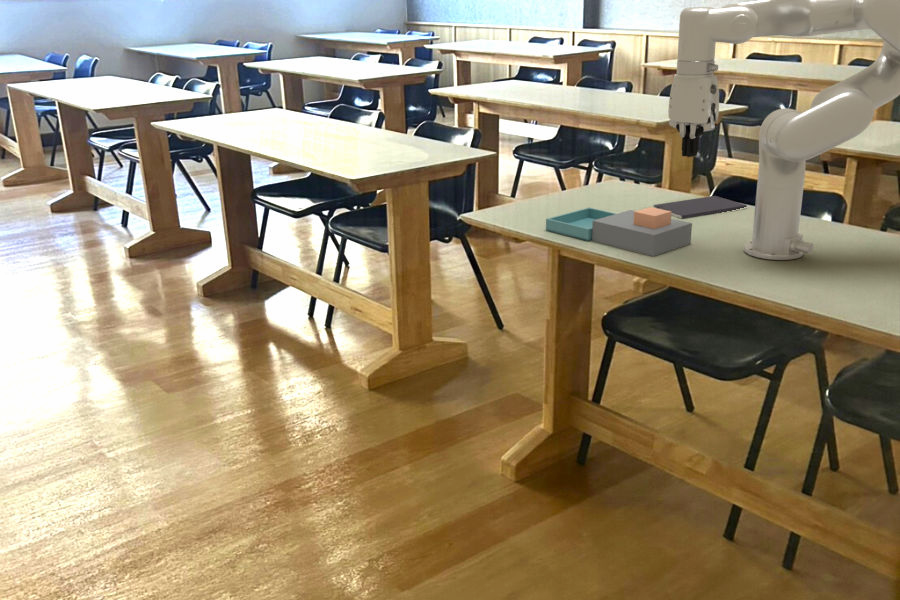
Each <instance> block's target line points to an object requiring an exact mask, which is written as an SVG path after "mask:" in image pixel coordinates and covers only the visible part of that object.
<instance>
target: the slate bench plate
mask: <svg viewBox="0 0 900 600" xmlns="http://www.w3.org/2000/svg"><path fill="white" fill-rule="evenodd" d="M635 211H636V210H632V209H629V210H626V211H623V212H622V211H621V212H619V213H616V214H614V215H611V216H607V217H604V218H600V219H597V220H593V223H592V241H591V242H595V243H598V244H603V245H606V246H611V247H613V248H618V249H622V250H626V251H631V252H634V253H638V254H642V255H645V256H648V257H649V256H650V257H656V256H658V255H662V254H665V253H667V252H668V253H669V252H671V251H673V250H677V249H680V248H682V247H686V246H689V245H691V243H692V228H693V223H692V222H688V221H684V220H679V219H675V218H671V224H669V225H666V226H663V227H660V228H656V229H652V228H648V227H643V226H639V225H634V212H635Z"/></svg>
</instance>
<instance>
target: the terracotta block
mask: <svg viewBox="0 0 900 600" xmlns="http://www.w3.org/2000/svg"><path fill="white" fill-rule="evenodd" d="M634 211H635V212H634V225H639V226H643V227H648V228H652V229H656V228H660V227H663V226H666V225H669V224H671V219H672V215H671V211H667V210H662V209H657V208H654V207H652V206H649V207H646V208H643V209H639V210H634Z"/></svg>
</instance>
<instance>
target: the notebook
mask: <svg viewBox="0 0 900 600" xmlns="http://www.w3.org/2000/svg"><path fill="white" fill-rule="evenodd" d="M744 207H747V204H744V203H741V202H737V201H734V200H731V199H727V198H725V197H724V198H723V197H720V196H717V195H712V196H711V195H710V196H704V197H696V198H690V199H685V200H678V201H677V200H676V201H671V202H665V203H664V202H663V203H658V204H653V208H657V209H662V210H667V211H671V217H675V218H677V219H678V218H679V219H681V220H685V219H692V218H697V217H698V218H699V217H705V216H711V215H716V214H717V213H718V214H722V212H724V213H728V212H727V211H730V212H733V211H732V210H736V209H740V208H744ZM736 211H737V210H736Z"/></svg>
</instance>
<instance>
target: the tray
mask: <svg viewBox="0 0 900 600" xmlns="http://www.w3.org/2000/svg"><path fill="white" fill-rule="evenodd" d="M614 214H617V213H616V212H611V211H606V210H604V209H597V208H593V207H586V208H583V209H578V210H573V211H571V212H566V213H563V214H559V215H556V216H552V217H549V218H545V231H546V232H551V233H553V234H558V235H562V236H566V237H570V238H574V239H577V240H581V241H584V242H590V241H591V242H593V241H592V223H593V220H597V219H600V218H604V217H607V216H611V215H614Z"/></svg>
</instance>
